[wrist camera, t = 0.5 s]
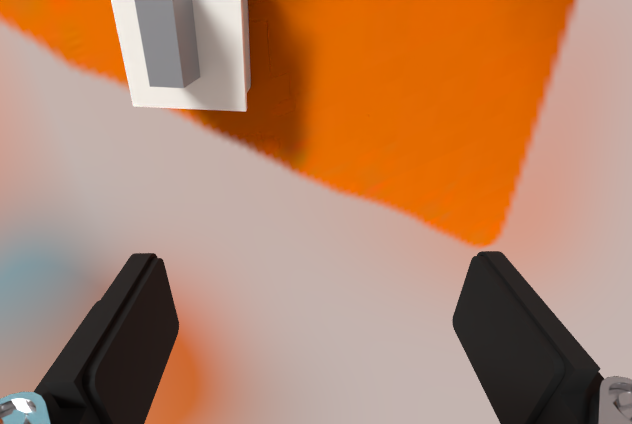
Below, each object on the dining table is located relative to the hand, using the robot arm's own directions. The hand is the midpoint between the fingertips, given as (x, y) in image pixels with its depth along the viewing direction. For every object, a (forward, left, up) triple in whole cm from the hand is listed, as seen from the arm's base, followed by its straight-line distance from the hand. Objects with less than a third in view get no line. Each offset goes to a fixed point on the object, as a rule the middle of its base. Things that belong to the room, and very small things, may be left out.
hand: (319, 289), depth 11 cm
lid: (-5, -10, -23) cm, 25 cm away
